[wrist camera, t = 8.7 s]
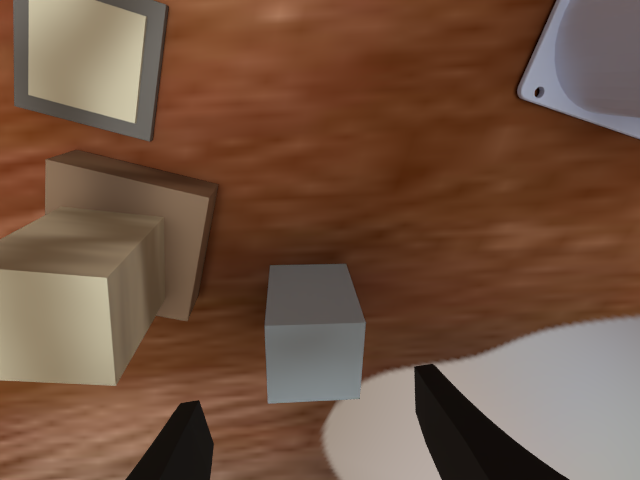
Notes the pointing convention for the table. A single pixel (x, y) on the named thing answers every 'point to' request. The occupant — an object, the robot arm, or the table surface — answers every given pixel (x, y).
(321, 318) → the slate block
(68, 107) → the swatch tile
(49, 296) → the maple block
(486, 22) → the table surface
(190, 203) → the walnut block
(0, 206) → the table surface
